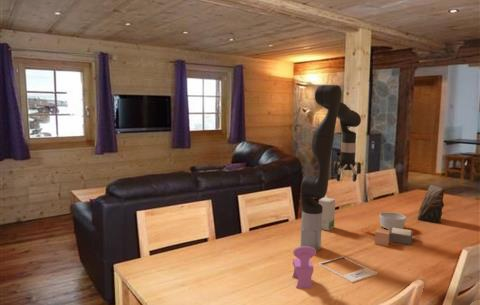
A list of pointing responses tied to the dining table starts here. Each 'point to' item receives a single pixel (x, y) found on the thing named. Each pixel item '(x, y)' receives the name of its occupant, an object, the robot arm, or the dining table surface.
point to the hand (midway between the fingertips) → (346, 181)
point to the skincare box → (327, 213)
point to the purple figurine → (303, 266)
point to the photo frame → (354, 275)
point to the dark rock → (432, 205)
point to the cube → (382, 237)
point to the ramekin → (392, 220)
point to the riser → (400, 236)
